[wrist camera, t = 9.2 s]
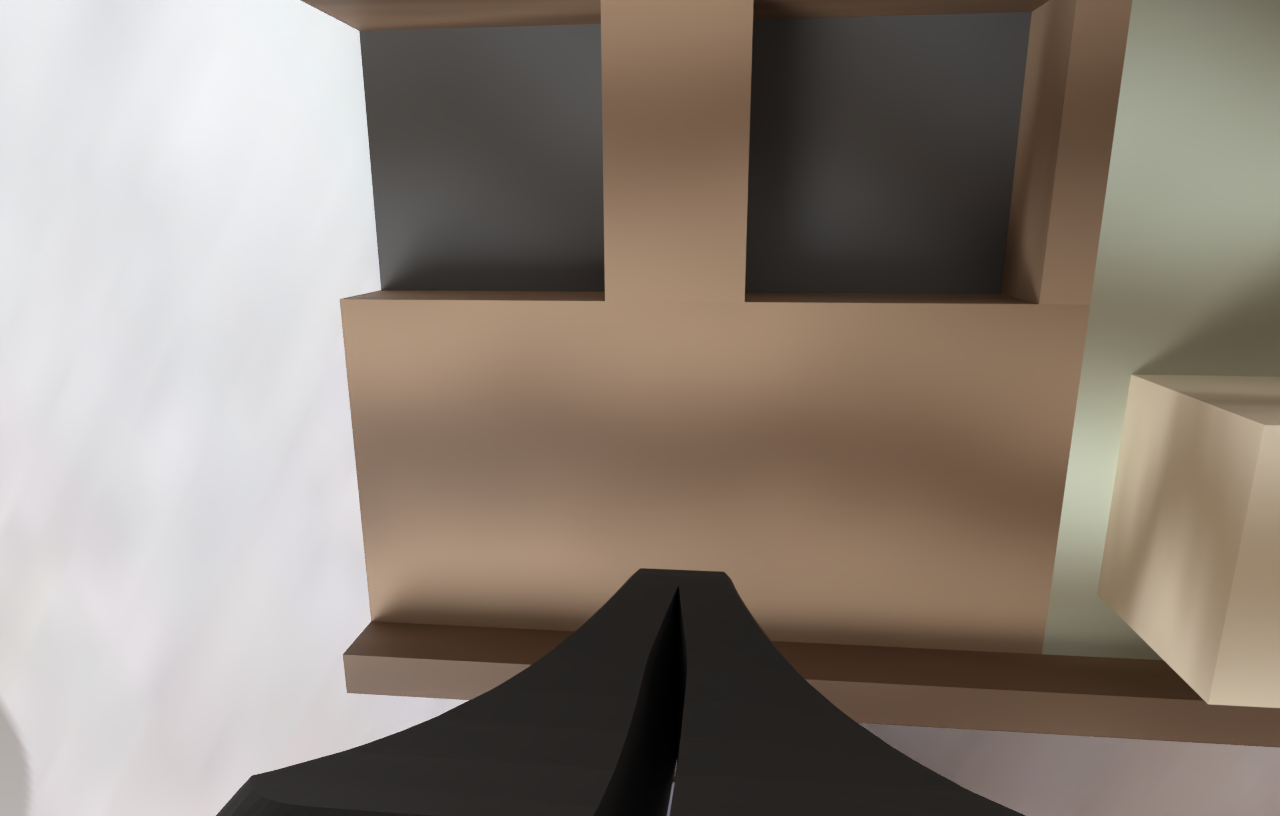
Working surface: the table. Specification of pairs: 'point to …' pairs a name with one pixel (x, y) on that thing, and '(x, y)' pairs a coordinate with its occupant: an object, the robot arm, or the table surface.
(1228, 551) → the birch block
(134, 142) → the table surface
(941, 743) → the table surface
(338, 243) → the table surface
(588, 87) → the trap track
